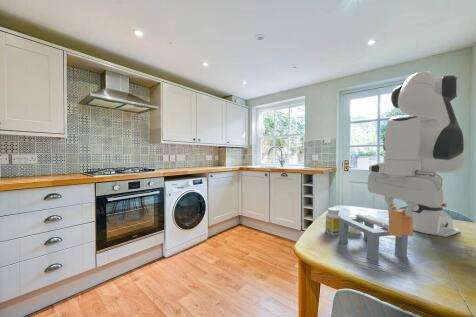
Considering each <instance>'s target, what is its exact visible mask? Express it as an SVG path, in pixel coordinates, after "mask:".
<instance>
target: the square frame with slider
mask: <svg viewBox="0 0 476 317" xmlns="http://www.w3.org/2000/svg"><path fill="white" fill-rule="evenodd" d="M355 215H356V216H351V217H347V216H341V217H340V218H339V235H338V242H340V244H341V243H342V244H348V243H349V231H348V228H349V226H351V227H353V228H355V229H357V230H359V231H362V233H363V239H364V240H366V259H367V260H369V261H370V262H372V263H373V262H374V263H375V262H379V252H380V251H379V250H380V249H379V248H380V237H388V236H390V237H391V236H392V235H390V234H389V221H387V220H383V219H380V218H378V217H375V216H372V215H370V214H367V215H363V214H360V213H356V214H355ZM359 222H363V224H361V223H359ZM375 226H378V228H374V227H375ZM408 241H409V236H408V235H405V234H402V237H396V236H395V244H394V255H396V256H397V257H399V258H401V259H403V258H408Z"/></svg>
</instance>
